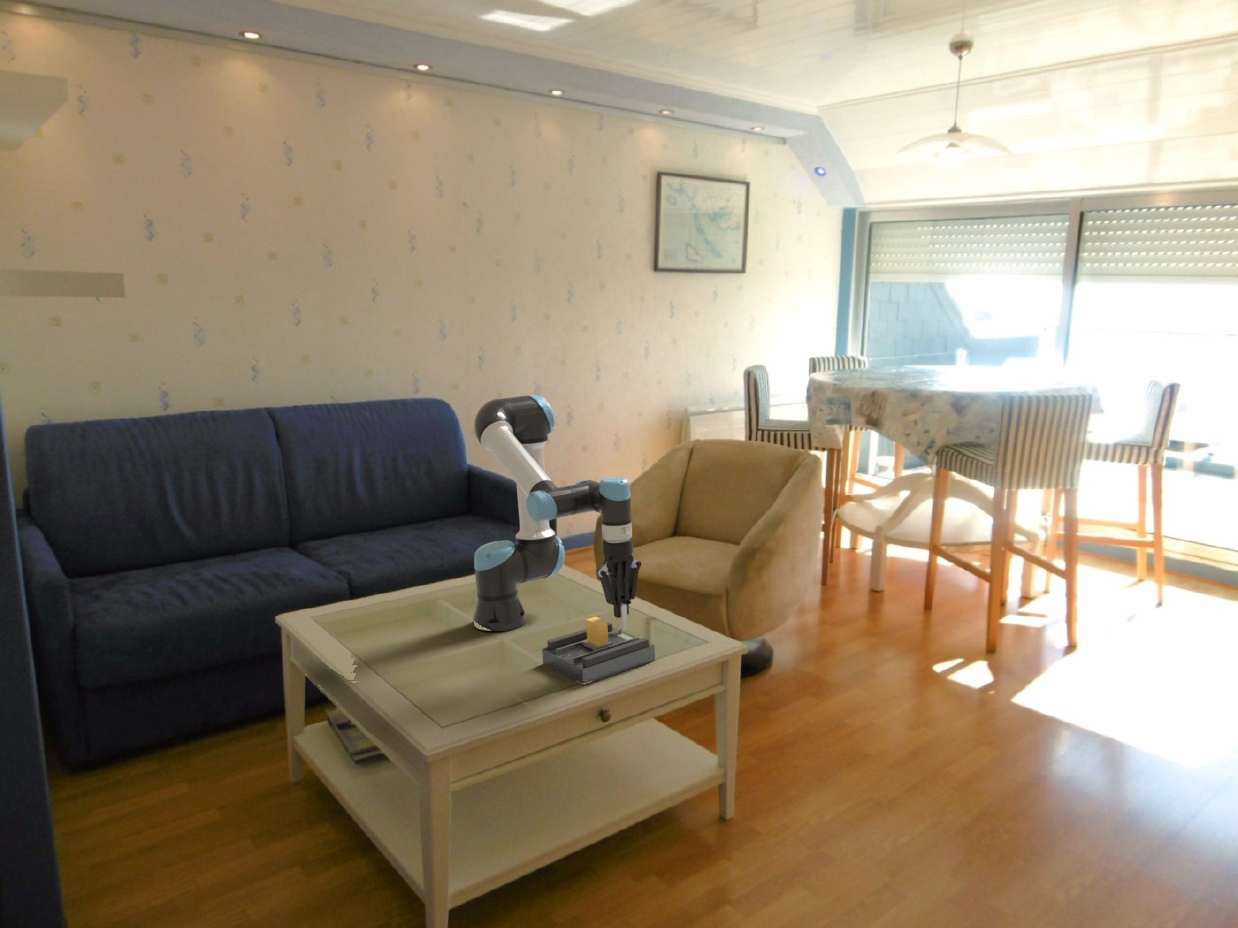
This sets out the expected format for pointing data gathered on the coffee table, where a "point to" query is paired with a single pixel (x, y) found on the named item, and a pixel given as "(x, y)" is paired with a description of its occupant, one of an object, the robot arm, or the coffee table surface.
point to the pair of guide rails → (601, 655)
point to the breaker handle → (596, 634)
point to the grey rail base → (571, 654)
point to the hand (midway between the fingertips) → (622, 627)
